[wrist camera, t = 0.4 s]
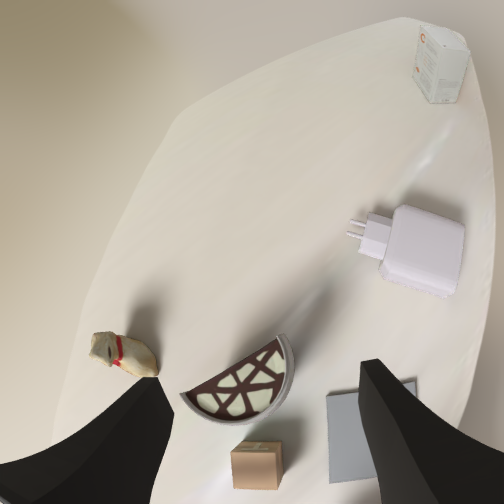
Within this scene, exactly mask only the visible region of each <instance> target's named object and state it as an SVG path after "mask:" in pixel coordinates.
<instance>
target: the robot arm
mask: <svg viewBox="0 0 504 504" xmlns="http://www.w3.org/2000/svg"><path fill="white" fill-rule="evenodd" d="M358 405H359V411H360V416H361V421H362V426H363V430H364V433H365V436H366V439H367V443H368V446H369V449H370V453H371V456H372V459H373V463H374V466H375V469H376V473H377V477H378V481H379V486H380V493H381V500H382V504H504V453H503V452H501V451H498V450H496V449H493V448H491V447H489V446H487V445H485V444H482V443H480V442H479V441H477V440H475V439H473V438H471V437H469V436H467V435H465V434H464V433H462V432H460V431H459V430H457V429H456V428H454V427H453V426H451V425H450V424H448V423H447V422H445V421H444V420H443V419H441V418H440V417H439V416H437V415H436V414H435V413H434V412H432V411H431V410H430V409H429V408H428V407H426V406H425V405H424V404H423V403H422V402H421V401H420V400H418V399H417V398H416V397H415V396H414V395H413V394H412V393H411V392H410V391H409V390H408V389H407V388H406V387H405V386H404V385H403V384H402V383H401V382H400V381H399V380H398V379H397V378H396V377H395V376H394V375H393V374H392V373H391V372H390V371H389V369H388V368H387V367H386V366H385V365H384V364H383V363H382V362H381V361H380V360H379V359H373V360H367V361H362V362H361V366H360V382H359V394H358ZM173 419H174V412H173V410H172V408H171V406H170V403H169V401H168V399H167V397H166V395H165V393H164V391H163V389H162V386H161V384H160V382H159V380H158V377H143V378H141V379H140V380H139V381H138V382H136V383H135V384H134V385H133V386H132V387H131V388H130V389H129V390H127V391H126V392H125V393H124V394H123V395H122V396H121V397H120V398H119V399H117V400H116V401H115V402H114V403H113V404H112V405H111V406H109V407H108V408H107V409H106V410H105V411H104V412H102V413H101V414H100V415H99V416H97V417H96V418H95V419H94V420H92V421H91V422H90V423H88V424H87V425H86V426H85V427H83V428H82V429H80V430H79V431H77V432H76V433H74V434H73V435H71V436H70V437H68V438H66V439H65V440H63V441H61V442H59V443H57V444H55V445H53V446H51V447H50V448H48V449H46V450H44V451H41V452H39V453H36V454H34V455H32V456H29V457H26V458H23V459H19V460H16V461H12V462H8V463H4V464H0V502H2V503H3V504H149V503H150V498H151V493H152V488H153V485H154V481H155V478H156V475H157V473H158V470H159V467H160V464H161V461H162V458H163V456H164V453H165V450H166V447H167V444H168V441H169V438H170V434H171V429H172V424H173Z"/></svg>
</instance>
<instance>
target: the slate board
mask: <svg viewBox="0 0 504 504" xmlns="http://www.w3.org/2000/svg"><path fill="white" fill-rule="evenodd" d="M403 385H404V386H405V387H406V388H407V389H408V390H409V391H410V392H411V393H412V394H413V395H414V396H415V397H416V389H415V381H413V382H408V383H403ZM358 394H359V392H353V393H346V394H339V395H331V396H326V400H327V419H328V442H329V484H330V483H339V482H347V481H355V480H361V479H367V478H373V477H377V473H376V469H375V466H374V463H373V459H372V456H371V453H370V449H369V446H368V443H367V439H366V436H365V433H364V430H363V426H362V421H361V416H360V411H359V405H358Z"/></svg>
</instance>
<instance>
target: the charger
mask: <svg viewBox="0 0 504 504" xmlns="http://www.w3.org/2000/svg"><path fill="white" fill-rule="evenodd" d="M350 223H352V224H356V225H359V226H362V227H365V230H364V234H363V235H359V234H356V233H353V232H349V231H347V232H346V235H349V236H352V237H355V238H358V239H362V241H361V244H360V248H359V252H358V253H362V254H365V255H368V256H371V257H374V258H378V259H381V263H380V266H379V271H380V273H381V275H382V277H383V279H385V280H388V281H391V282H395V283H398V284H401V285H404V286H407V287H410V288H413V289H416V290H419V291H423V292H426V293H429V294H432V295H435V296H438V297H441V298H446V297H448V296H450V295H452V294H453V293H454V292H455V289H456V287H457V283H458V278H459V272H460V266H461V259H462V251H463V243H464V234H465V226H464V224H462V223H459V222H456V221H454V220H451V219H448V218H445V217H442V216H440V215H437V214H434V213H431V212H428V211H425V210H422V209H419V208H416V207H413V206H410V205H407V204H403V205H401V206H399V207H397V208H396V209H395V211H394V214H393V216H392V218H391V219H390V218H387V217H384V216H381V215H377V214H374V213H371V212H369V215H368V219H367V222H366V223H363V222H360V221H356V220H353V219H350Z"/></svg>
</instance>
